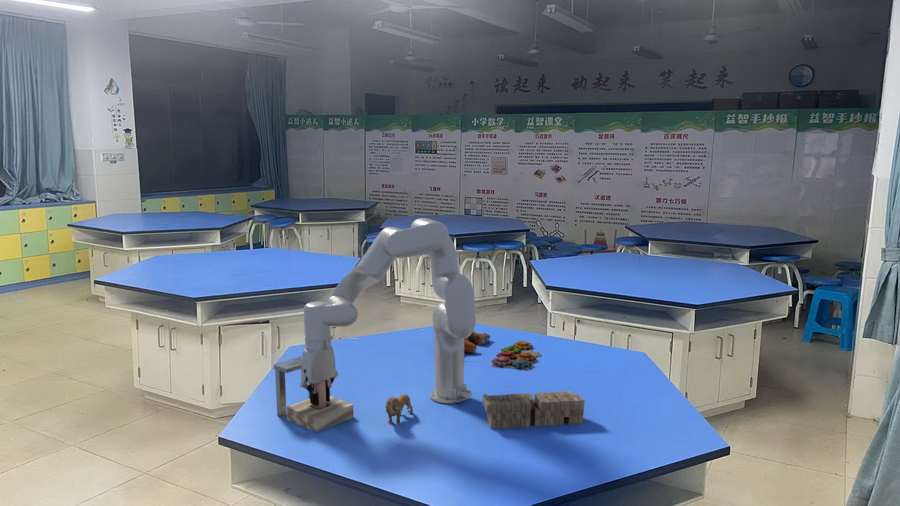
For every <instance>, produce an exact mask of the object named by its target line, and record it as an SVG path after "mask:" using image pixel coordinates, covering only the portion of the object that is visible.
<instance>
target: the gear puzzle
mask: <svg viewBox="0 0 900 506" xmlns="http://www.w3.org/2000/svg"><path fill="white" fill-rule="evenodd" d="M532 347H534V346H533V344H532V343H530V342H528V341H525V340H520V341H519V340H518V341H517V342H514V344H512V345H510V346H507V347H503V348H501V349H500V351H501V352H498V353H497V354H496V356H495V357H496V358H493V359H492V360H491V364H490V365H491V368H498V367H502V368H503V369H510V370H511V369H512V370H517V369H520V370H523V371H530V369H534V368H535V365H533V364H534V363H536V364H537V363H538V361H539V359H537V358H538V357H539V358H540V357H542V354H540V352H539V351H534V350H531V348H532Z"/></svg>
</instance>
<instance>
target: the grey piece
mask: <svg viewBox="0 0 900 506" xmlns="http://www.w3.org/2000/svg"><path fill="white" fill-rule="evenodd" d="M301 359H302V355H301V356H298V357H294V358H292V359H288V360H285V361H281V362H279V363H278V362H277V363H274V364H273V369H274V372H275V375H274V376H275V393H276V394H275V395H276V396H275V397H276V411H277V412H276V415H277V416H278V417H280V416H281V418H282V417H284V416H287V392H286V374H289V373H292V372H295V371H298V370H301ZM308 381H309V380H308ZM312 387H313V385H312ZM307 392H308V393H307V394H308V399H310V392H309V391H308V390H307Z"/></svg>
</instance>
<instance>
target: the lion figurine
mask: <svg viewBox="0 0 900 506" xmlns="http://www.w3.org/2000/svg"><path fill="white" fill-rule="evenodd" d="M404 406H406V410H409V411H408V414H409V415H413V413H414V412H413V411H414V410H413V406H412V403H411V398H410V396H409V395H408V394H400V395H399V396H398V397H395V396H391V397H389V398H387V401H386V402H385V412H386V413H387V415H388V421H387V424H388V423H391V424H392V422H393V418H392V417H395V416H396V423H397V425H401V424H400V423H401V415H402V412H403V410H404Z"/></svg>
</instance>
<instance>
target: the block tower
mask: <svg viewBox="0 0 900 506" xmlns="http://www.w3.org/2000/svg"><path fill="white" fill-rule="evenodd" d="M482 404H483V407H484V409H485V412H486V420H487V424H488V426H489V428H490V429H491V430H493V429H495V430H500V429H502V430H503V429H514V428H530V426H531V424H532V425H533V426H534V427H545V426H546V427H549V426H564V425H565V424H564V423H565V422H566V423H567V425H568V426H569V425H583V424H584V413H585V399H584V398H583V397H582V396H581V395H580V394H579V393H576V394H574V392H573V391H571V390H570V391H569V390H568V391H554V392H553V391H549V392H535V393H534V397H532V394H531V393H530V392H527V393H508V394H507V393H506V394H493V395H488V394H487V393H486V394H482Z"/></svg>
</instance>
